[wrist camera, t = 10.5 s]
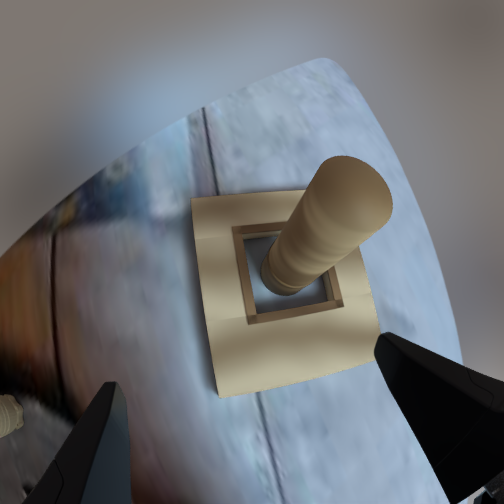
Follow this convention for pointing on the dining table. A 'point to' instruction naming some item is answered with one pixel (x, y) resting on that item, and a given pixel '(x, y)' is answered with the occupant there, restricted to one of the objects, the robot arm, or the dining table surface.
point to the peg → (327, 223)
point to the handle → (10, 415)
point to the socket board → (277, 322)
